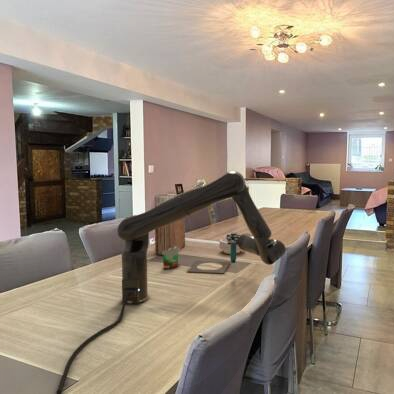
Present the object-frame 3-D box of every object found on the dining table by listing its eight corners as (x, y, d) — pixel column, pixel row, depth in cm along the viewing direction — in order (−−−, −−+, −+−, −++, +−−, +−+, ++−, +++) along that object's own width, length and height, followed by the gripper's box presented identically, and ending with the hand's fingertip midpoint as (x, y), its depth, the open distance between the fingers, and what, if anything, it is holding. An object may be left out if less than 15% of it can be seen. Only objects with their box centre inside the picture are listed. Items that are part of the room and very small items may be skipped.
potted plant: (173, 270, 169) (173, 251, 168) (162, 269, 170) (161, 250, 169) (184, 263, 181) (183, 245, 180) (173, 263, 182) (173, 244, 181)
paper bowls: (232, 257, 196) (232, 243, 195) (214, 252, 205) (214, 239, 204) (249, 251, 208) (249, 239, 207) (231, 247, 217) (231, 235, 216)
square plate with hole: (223, 274, 165) (223, 272, 165) (187, 272, 167) (187, 271, 167) (229, 263, 183) (229, 262, 183) (197, 262, 185) (197, 260, 185)
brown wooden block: (170, 256, 195) (169, 204, 192) (155, 255, 196) (154, 204, 193) (185, 245, 221) (184, 200, 218) (171, 245, 222) (171, 199, 219)
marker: (235, 263, 158) (236, 233, 156) (229, 263, 158) (230, 233, 157) (236, 261, 160) (237, 232, 159) (230, 261, 161) (231, 232, 159)
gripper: (263, 233, 150) (243, 227, 164) (236, 236, 142) (217, 229, 156) (263, 250, 151) (242, 242, 165) (236, 254, 143) (217, 245, 157)
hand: (230, 236), depth 160 cm, fingers closed on marker, 2 cm apart
